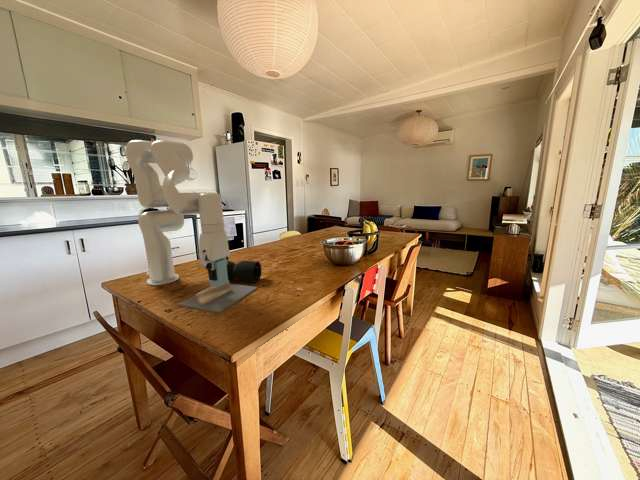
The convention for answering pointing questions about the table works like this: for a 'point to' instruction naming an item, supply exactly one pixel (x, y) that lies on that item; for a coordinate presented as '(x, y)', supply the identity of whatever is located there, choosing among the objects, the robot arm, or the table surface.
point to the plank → (212, 293)
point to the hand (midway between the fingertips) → (218, 277)
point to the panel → (221, 299)
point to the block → (220, 273)
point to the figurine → (244, 271)
